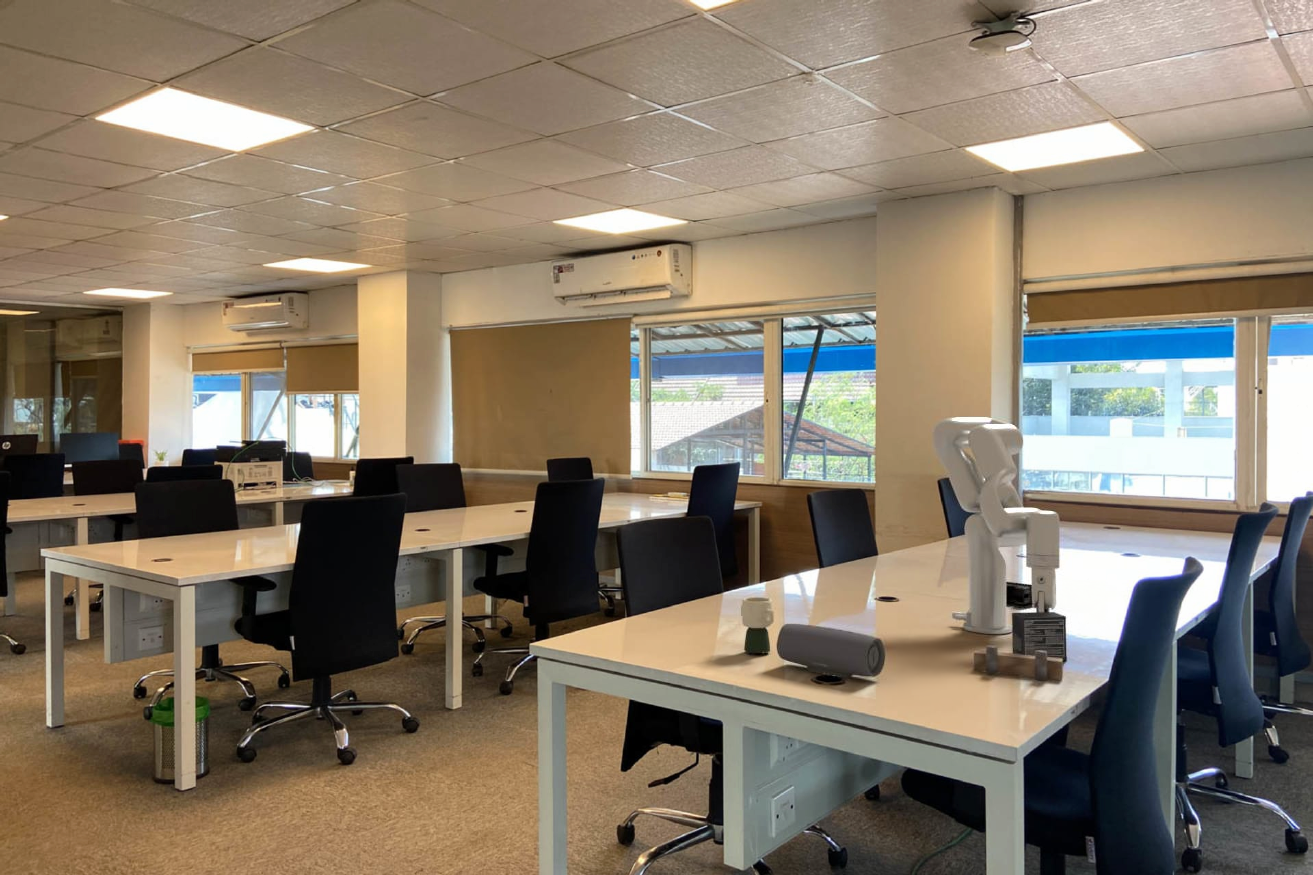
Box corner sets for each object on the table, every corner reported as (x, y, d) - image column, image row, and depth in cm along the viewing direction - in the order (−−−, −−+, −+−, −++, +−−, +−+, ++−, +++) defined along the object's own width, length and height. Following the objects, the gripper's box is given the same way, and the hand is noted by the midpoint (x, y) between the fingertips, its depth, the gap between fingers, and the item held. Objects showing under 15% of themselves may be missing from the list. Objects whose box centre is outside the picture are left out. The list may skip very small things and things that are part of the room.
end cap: (1037, 605, 278) (1037, 583, 278) (1026, 608, 273) (1026, 586, 273) (1006, 601, 285) (1006, 579, 285) (995, 604, 281) (995, 582, 281)
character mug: (783, 655, 217) (783, 600, 217) (762, 659, 213) (762, 604, 213) (752, 646, 226) (752, 594, 226) (731, 650, 221) (730, 597, 221)
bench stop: (972, 672, 200) (972, 645, 200) (975, 667, 205) (975, 640, 205) (1061, 683, 192) (1061, 654, 192) (1062, 676, 197) (1062, 649, 197)
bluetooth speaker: (886, 678, 197) (886, 631, 197) (865, 687, 190) (865, 639, 190) (797, 660, 212) (797, 618, 212) (775, 668, 205) (775, 624, 205)
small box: (1054, 654, 217) (1054, 610, 217) (1067, 661, 210) (1067, 616, 210) (1011, 655, 216) (1010, 611, 216) (1022, 662, 210) (1022, 616, 210)
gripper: (1057, 566, 215) (1057, 643, 215) (1061, 558, 228) (1061, 631, 228) (1023, 564, 218) (1023, 640, 218) (1029, 556, 231) (1029, 628, 231)
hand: (1043, 635), depth 223 cm, fingers closed
